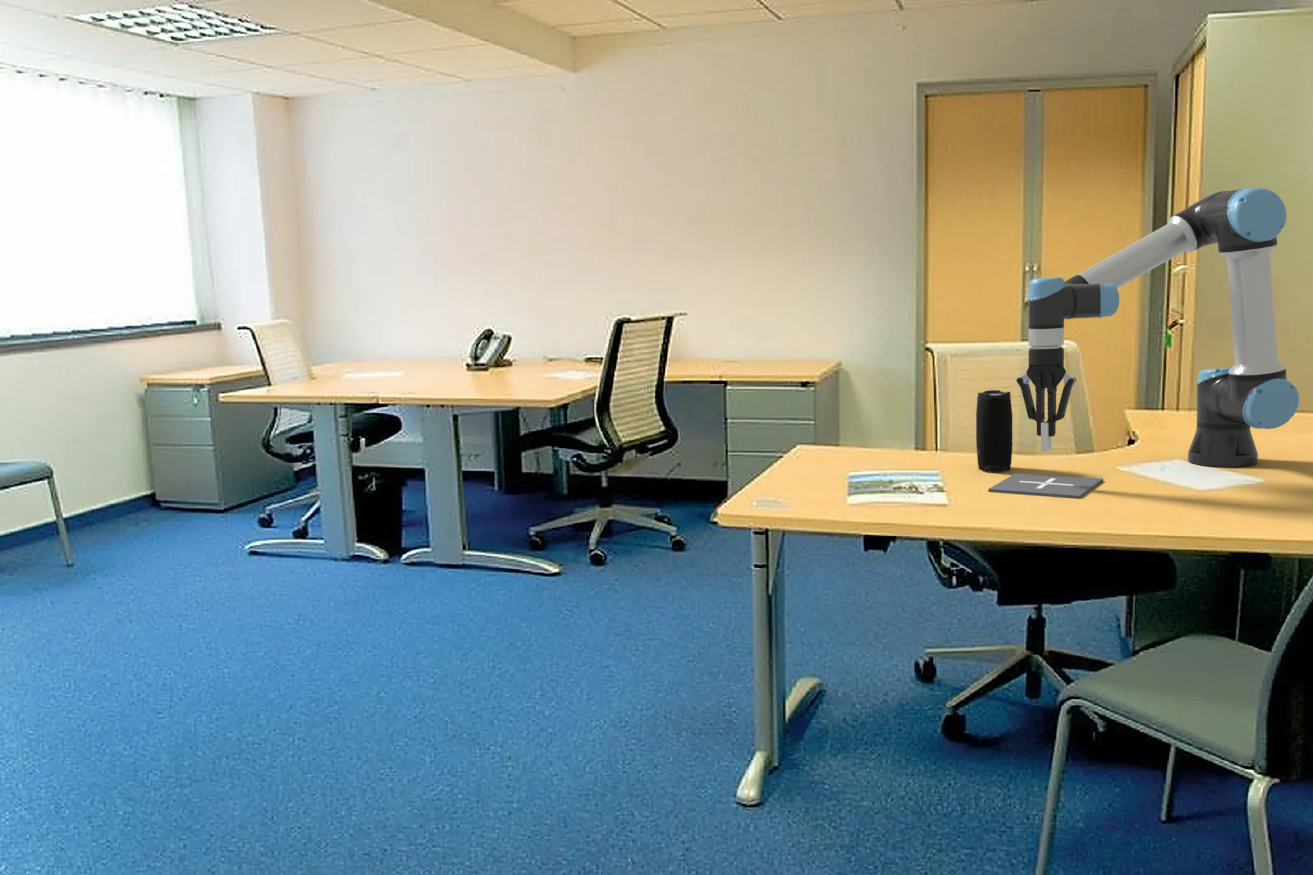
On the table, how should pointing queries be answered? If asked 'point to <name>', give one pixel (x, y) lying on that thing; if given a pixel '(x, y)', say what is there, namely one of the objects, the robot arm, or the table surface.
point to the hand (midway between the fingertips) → (1046, 450)
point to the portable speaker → (994, 430)
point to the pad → (1046, 485)
